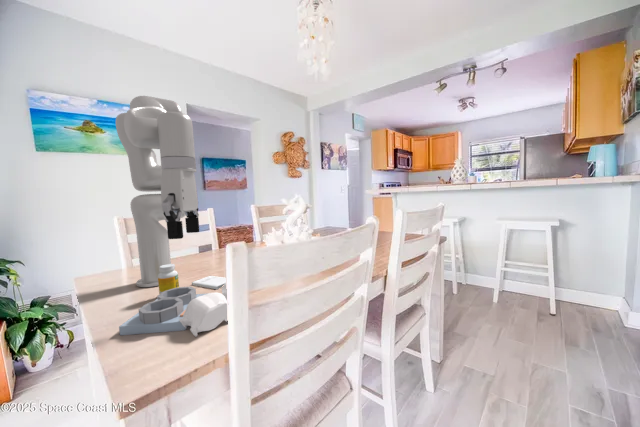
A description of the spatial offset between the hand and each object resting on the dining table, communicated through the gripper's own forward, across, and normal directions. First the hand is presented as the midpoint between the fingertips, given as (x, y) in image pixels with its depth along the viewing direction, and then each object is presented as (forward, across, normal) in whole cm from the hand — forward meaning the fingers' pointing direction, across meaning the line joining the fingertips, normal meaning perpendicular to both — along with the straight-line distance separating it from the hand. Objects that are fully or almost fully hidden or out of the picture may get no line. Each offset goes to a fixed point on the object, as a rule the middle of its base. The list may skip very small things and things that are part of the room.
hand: (185, 235), depth 66 cm
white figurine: (+21, +5, +8) cm, 23 cm away
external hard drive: (+21, -24, -2) cm, 32 cm away
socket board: (+20, 0, -5) cm, 21 cm away
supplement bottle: (+21, -14, -12) cm, 28 cm away
